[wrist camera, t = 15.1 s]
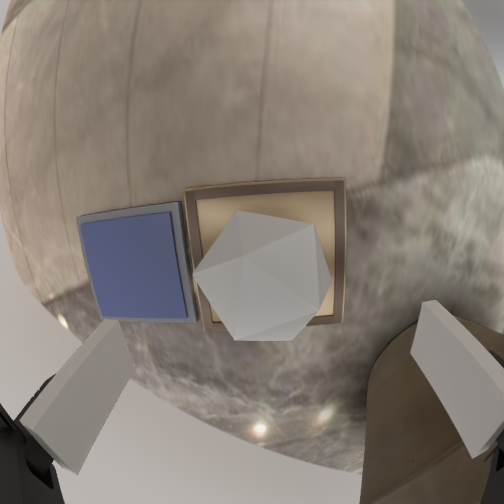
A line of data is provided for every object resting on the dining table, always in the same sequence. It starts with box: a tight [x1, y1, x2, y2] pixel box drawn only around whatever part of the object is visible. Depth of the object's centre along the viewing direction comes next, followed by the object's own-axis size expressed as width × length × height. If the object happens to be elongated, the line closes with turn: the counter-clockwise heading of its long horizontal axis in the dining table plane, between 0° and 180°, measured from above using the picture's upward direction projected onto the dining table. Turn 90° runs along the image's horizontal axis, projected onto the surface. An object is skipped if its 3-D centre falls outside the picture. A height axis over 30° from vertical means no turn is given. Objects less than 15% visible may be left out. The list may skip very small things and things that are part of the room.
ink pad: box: [76, 201, 199, 323], centre depth 23 cm, size 11×11×1 cm
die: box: [192, 210, 332, 341], centre depth 19 cm, size 8×9×10 cm
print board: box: [183, 178, 346, 331], centre depth 23 cm, size 13×13×1 cm
